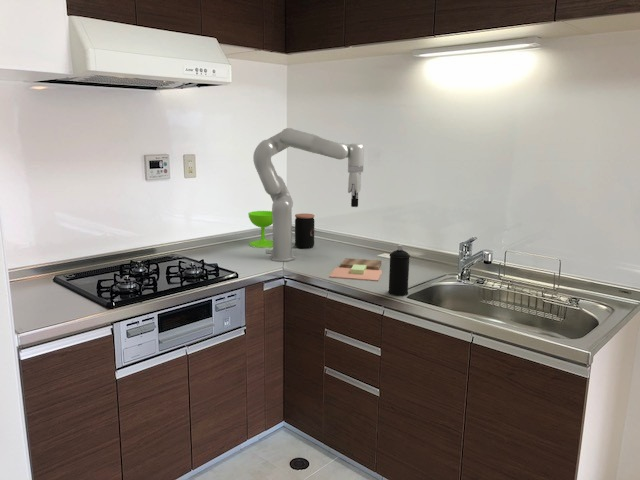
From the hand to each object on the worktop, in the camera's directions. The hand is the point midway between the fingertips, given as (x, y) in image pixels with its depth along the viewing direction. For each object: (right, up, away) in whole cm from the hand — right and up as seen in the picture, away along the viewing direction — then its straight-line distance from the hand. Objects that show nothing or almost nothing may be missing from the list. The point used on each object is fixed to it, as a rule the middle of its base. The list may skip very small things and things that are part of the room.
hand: (354, 206), depth 258 cm
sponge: (+1, -30, -17) cm, 35 cm away
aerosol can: (+15, -38, -46) cm, 61 cm away
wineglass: (-49, -19, +36) cm, 64 cm away
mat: (-1, -32, -20) cm, 38 cm away
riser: (+3, -29, -7) cm, 30 cm away
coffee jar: (-26, -21, +32) cm, 46 cm away
